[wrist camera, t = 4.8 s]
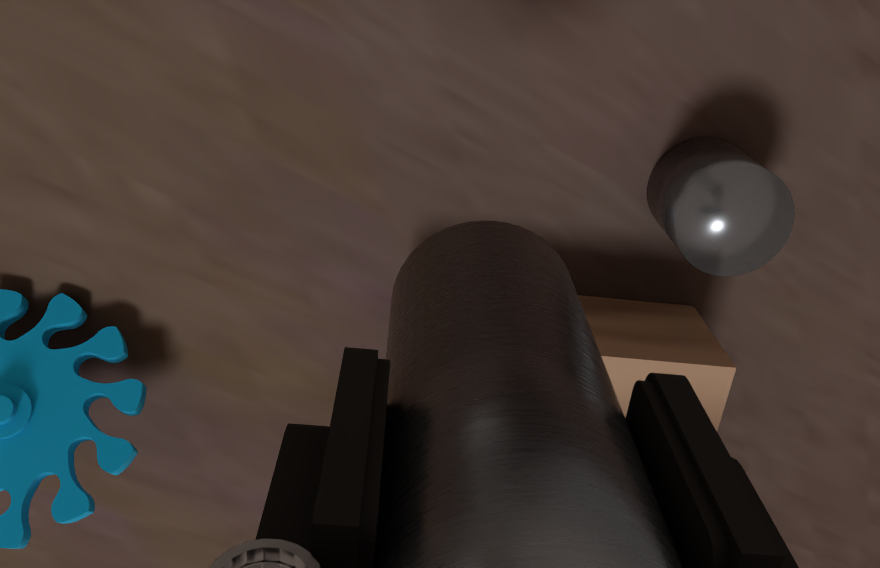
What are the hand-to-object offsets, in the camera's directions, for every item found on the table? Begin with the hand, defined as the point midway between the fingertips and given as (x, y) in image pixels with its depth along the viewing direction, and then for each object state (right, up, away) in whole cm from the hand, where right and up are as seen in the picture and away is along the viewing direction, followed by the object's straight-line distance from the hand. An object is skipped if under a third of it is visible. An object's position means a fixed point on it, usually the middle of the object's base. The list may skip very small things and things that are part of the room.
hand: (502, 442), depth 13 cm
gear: (-18, -1, +21) cm, 27 cm away
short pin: (+9, +6, +17) cm, 21 cm away
